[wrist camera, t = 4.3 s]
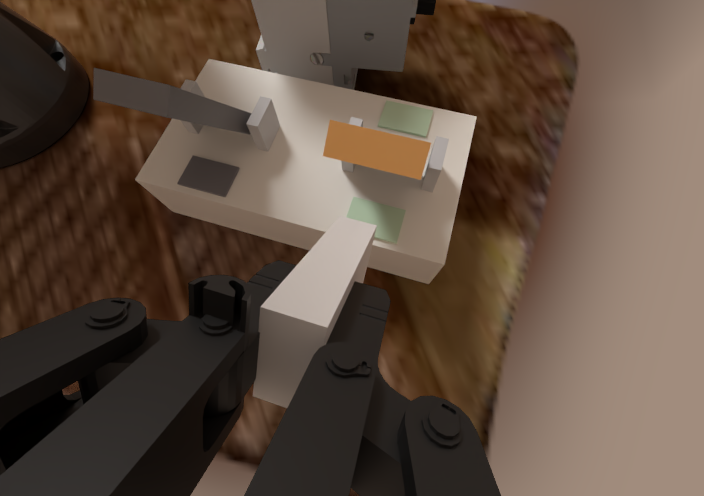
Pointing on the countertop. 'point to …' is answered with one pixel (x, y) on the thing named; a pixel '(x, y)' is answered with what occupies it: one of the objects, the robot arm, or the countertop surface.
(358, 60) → the circuit breaker
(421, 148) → the lever
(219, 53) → the countertop surface
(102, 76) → the lever
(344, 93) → the console
